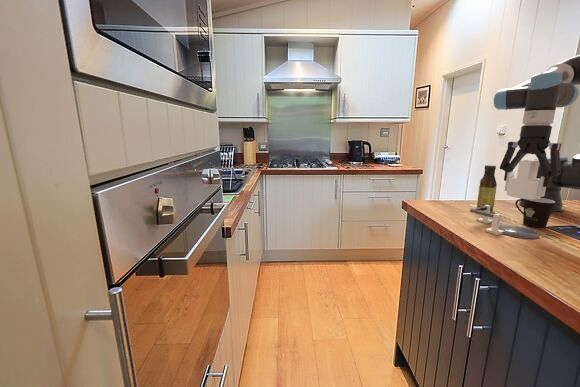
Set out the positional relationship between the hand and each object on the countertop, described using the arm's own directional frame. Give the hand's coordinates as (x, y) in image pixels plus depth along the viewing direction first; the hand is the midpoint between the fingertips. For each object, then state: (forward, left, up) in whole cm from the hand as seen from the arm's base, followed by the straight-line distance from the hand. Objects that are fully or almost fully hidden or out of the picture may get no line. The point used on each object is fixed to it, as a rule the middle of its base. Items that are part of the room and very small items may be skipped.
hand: (523, 193), depth 95 cm
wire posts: (+2, -8, -14) cm, 16 cm away
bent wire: (+3, -8, -9) cm, 12 cm away
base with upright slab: (0, 0, -1) cm, 1 cm away
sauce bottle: (-19, -23, -14) cm, 33 cm away
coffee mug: (-15, -3, -14) cm, 21 cm away
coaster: (0, 0, -14) cm, 14 cm away
